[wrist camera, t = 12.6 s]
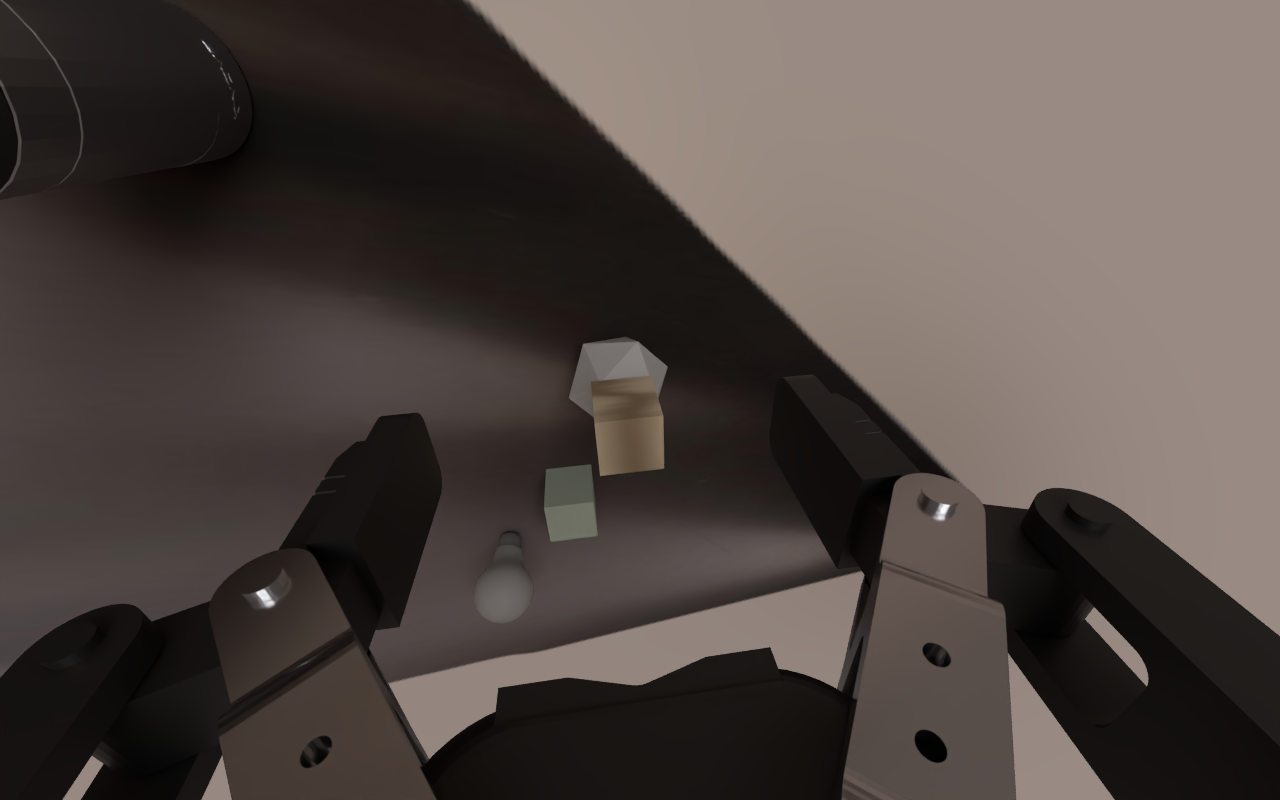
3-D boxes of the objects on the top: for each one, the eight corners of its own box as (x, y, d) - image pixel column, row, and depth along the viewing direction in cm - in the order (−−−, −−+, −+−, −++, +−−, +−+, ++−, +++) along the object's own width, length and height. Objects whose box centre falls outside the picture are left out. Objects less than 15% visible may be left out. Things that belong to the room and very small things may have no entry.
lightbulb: (519, 509, 56) (509, 590, 47) (546, 540, 60) (542, 621, 50) (474, 529, 57) (456, 613, 48) (503, 558, 60) (492, 642, 51)
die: (563, 325, 46) (544, 420, 42) (639, 303, 41) (625, 408, 37) (614, 363, 52) (602, 449, 48) (685, 347, 47) (677, 441, 43)
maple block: (596, 430, 42) (600, 476, 37) (590, 381, 40) (594, 422, 35) (652, 424, 43) (664, 468, 38) (650, 375, 40) (663, 415, 35)
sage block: (552, 501, 56) (550, 541, 51) (546, 469, 54) (543, 507, 49) (594, 496, 57) (597, 535, 52) (591, 464, 54) (593, 501, 49)
